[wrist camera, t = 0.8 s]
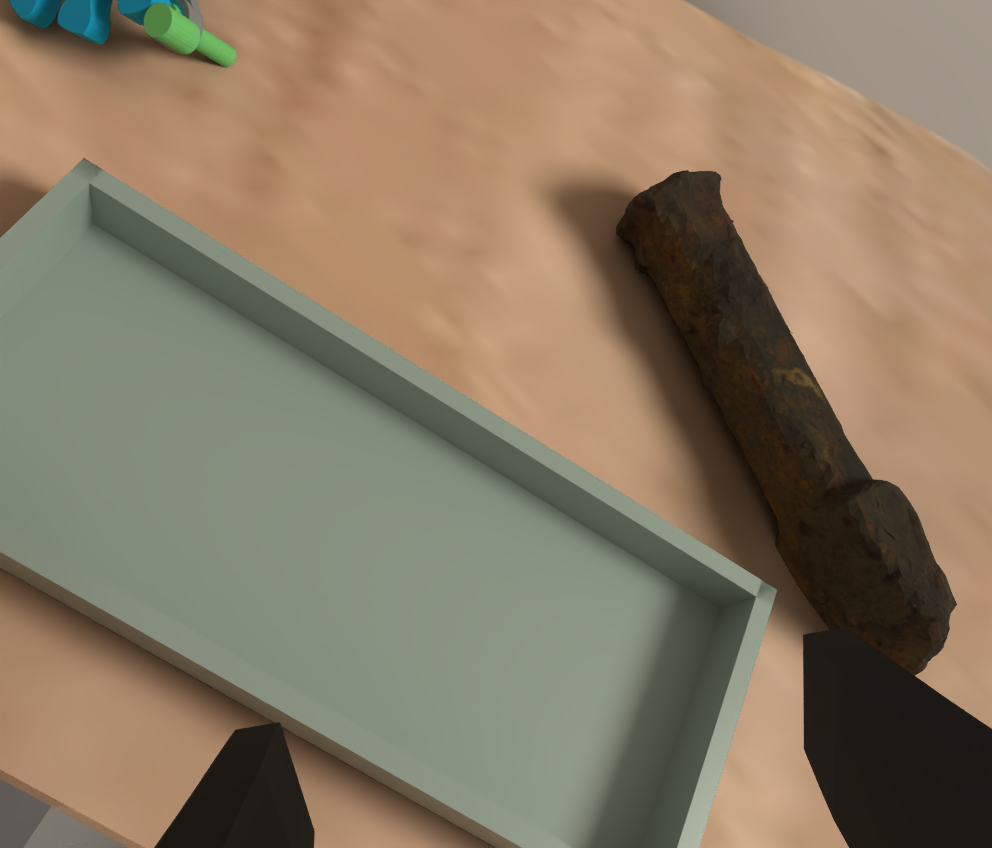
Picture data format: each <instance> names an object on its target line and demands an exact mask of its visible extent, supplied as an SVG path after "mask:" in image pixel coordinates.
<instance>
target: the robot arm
mask: <svg viewBox="0 0 992 848" xmlns="http://www.w3.org/2000/svg"><path fill="white" fill-rule="evenodd" d="M803 673H804V750H805V753H806V755H807V758H808V760H809V762H810V765H811V767H812V770H813V772H814V775H815V777H816V780H817V782H818V784H819V787H820V789H821V791H822V794H823V796H824V798H825V801H826V803H827V805H828V808H829V810H830V812H831V814H832V817H833V819H834V821H835V823H836V825H837V827H838V828H839V830H840V832H841V834H842V836H843V837H844V839H845V841H846V843H847V845H848V846H849V848H992V729H991V728H990V727H988V726H987V725H985V724H984V723H982V722H981V721H979V720H978V719H976V718H975V717H973V716H972V715H970V714H969V713H967V712H966V711H964V710H963V709H961V708H960V707H958V706H957V705H955V704H954V703H953V702H951V701H950V700H948V699H947V698H945V697H944V696H942V695H941V694H940V693H938V692H937V691H935V690H934V689H932V688H931V687H930V686H928V685H927V684H925V683H924V682H923V681H921V680H920V679H918V678H917V677H916V676H914V675H913V674H911V673H910V672H909V671H907V670H906V669H904V668H903V667H902V666H900V665H899V664H898V663H896V662H895V661H893V660H892V659H891V658H889V657H888V656H887V655H885V654H884V653H882V652H881V651H880V650H878V649H877V648H876V647H874V646H873V645H872V644H870V643H869V642H867V641H866V640H865V639H863V638H862V637H860V636H859V635H858V634H856V633H855V632H853V631H852V630H851V629H849V628H848V627H846V628H840V629H834V630H828V631H822V632H816V633H810V634H804V635H803ZM154 848H314V828H313V825H312V822H311V819H310V816H309V813H308V809H307V806H306V803H305V800H304V797H303V794H302V790H301V787H300V784H299V781H298V778H297V775H296V772H295V768H294V765H293V762H292V759H291V756H290V753H289V749H288V746H287V743H286V740H285V737H284V734H283V730H282V727H281V724H280V722H279V723H273V724H267V725H261V726H255V727H249V728H243V729H237V730H235V731H234V733H233V734H232V735H231V737H230V738H229V739H228V741H227V742H226V744H225V745H224V747H223V748H222V749H221V751H220V752H219V754H218V755H217V757H216V758H215V760H214V761H213V763H212V764H211V766H210V767H209V769H208V770H207V772H206V773H205V775H204V776H203V778H202V779H201V781H200V782H199V784H198V785H197V787H196V788H195V790H194V791H193V793H192V794H191V796H190V797H189V799H188V800H187V802H186V803H185V805H184V806H183V808H182V809H181V810H180V812H179V813H178V815H177V816H176V818H175V819H174V821H173V822H172V823H171V825H170V826H169V828H168V829H167V830H166V832H165V833H164V835H163V836H162V838H161V839H160V840H159V842H158V843H157V845H156V846H155V847H154Z"/></svg>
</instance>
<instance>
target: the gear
mask: <svg viewBox="0 0 992 848" xmlns="http://www.w3.org/2000/svg"><path fill="white" fill-rule="evenodd" d="M9 1H10V3H11V5H12V7H13V8H14V10H15V11H16V12H17V14H18V15H19V16H20V17H21V18H22V19H24V20H26V21H28V22H30V23H31V24H33V25H35V26H37V27H39V28H41V29H44V28H46V27H48V26H49V25H50V24H51V23H52V22H53V20H54V19H55V17H56V14H57V11H58V8H59V6H60V4H61V2H62V0H9ZM111 3H112V0H66V1H65V2H64V3H63V5H62V6H61V8H60V10H59V14H58V24H59V25H60V26H61V27H63V28H65V29H66V30H68V31H70V32H72V33H74V34H76V35H77V36H79V37H81V38H83V39H85V40H87V41H90V42H92V43H96V44H101V45H102V44H103V43H104V42H105V41H106V39H107V37H108V35H109V32H110V8H111ZM117 6H118V9H119V11H120V13H121V14H123V15H124V16H126V17H128V18H129V19H131V20H133V21H134V22H136V23H138V24H139V25H144V28H145V31H146V32H147V34H148V35H150V36H151V38H152V39H153V40H154V41H155V42H156V43H158V44H160V45H161V46H163V47H165V48H167V49H168V50H170V51H172V52H174V53H178V54H190V53H191V52H193V51H194V50H197V51H198V52H200V53H202V54H203V55H205V56H207V57H208V58H210V59H211V60H213V61H215V62H216V63H218V64H220V65H221V66H223V67H229V66H231V65H232V64H233V63H234V61H235V59H236V52H235V50H234V48H232V47H231V46H229V45H228V44H226V43H225V42H223V41H222V40H220V39H219V38H217V37H216V36H214V35H213V34H211V33H210V32H208V31H206V30H205V29H203V18H202V14H201V11H200V8H199V5H198V3H197V0H117Z"/></svg>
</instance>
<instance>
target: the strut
mask: <svg viewBox="0 0 992 848" xmlns="http://www.w3.org/2000/svg"><path fill="white" fill-rule="evenodd" d="M0 848H144V847H142V846H140V845H139V844H137V843H135V842H133V841H131V840H129V839H127V838H126V837H124V836H122V835H120V834H118V833H116V832H115V831H113V830H111V829H109V828H107V827H105V826H103V825H102V824H100V823H98V822H96V821H94V820H92V819H90V818H89V817H87V816H85V815H83V814H81V813H79V812H77V811H76V810H74V809H72V808H70V807H68V806H66V805H65V804H63V803H61V802H59V801H57V800H55V799H53V798H52V797H50V796H48V795H46V794H44V793H42V792H40V791H39V790H37V789H35V788H33V787H31V786H29V785H27V784H26V783H24V782H22V781H20V780H18V779H16V778H14V777H13V776H11V775H9V774H7V773H5V772H3V771H2V770H0Z"/></svg>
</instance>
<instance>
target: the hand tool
mask: <svg viewBox="0 0 992 848" xmlns="http://www.w3.org/2000/svg"><path fill="white" fill-rule="evenodd" d="M720 180H721V177H720V175H719V174H718V173H716V172H713V171H698V172H689V171H688V170H687V171H680V172H676V173H673V174H672V175H670V176H669V177H668V178H667V179H665V180H664V181H662V182H660V183H658V184H656V185H654V186H651V187H650V188H649V189H648V190H646V191H643V192H641V193H639V194H638V195H637V196H636V197H635V198H634V199H633V200H632V201H631V202H630V203H629V205H628V207H627V208H626V211H625V214H624V216H623V217H622V219H621V220H620V222H619V223H618V225H617V228H616V235H617V236H619V237H621V238H623V239H625V240H627V241H628V242H629V243H631V244H632V245H633V246H634V247H635V248H636V254H635V269H636V270H639V271H642V272H645V273H648V274H649V275H650V277H651V278H652V279H653V281H654V283H655V285H656V287H657V288H658V290H659V292H660V294H661V296H662V298H663V300H664V302H665V304H666V306H667V309H668V311H669V313H670V314H671V316H672V318H673V319H674V321H675V322H676V324H677V325H678V327H679V329H680V331H681V333H682V335H683V337H684V338H685V340H686V342H687V344H688V346H689V348H690V350H691V352H692V354H693V356H694V358H695V360H696V362H697V364H698V366H699V368H700V370H701V372H702V381H703V386H704V387H705V388H706V389H707V390H709V391H710V392H711V393H712V394H713V395H714V397H715V399H716V401H717V403H718V406H719V409H720V410H721V412H722V414H723V417H724V419H725V422H726V424H727V426H728V427H729V428H730V430H731V431H732V433H733V434H734V436H735V438H736V440H737V442H738V444H739V446H740V448H741V450H742V452H743V454H744V456H745V458H746V460H747V462H748V464H749V466H750V468H751V470H752V472H753V474H754V476H755V478H756V480H757V481H758V483H759V485H760V487H761V489H762V491H763V493H764V495H765V497H766V499H767V501H768V502H769V504H770V506H771V508H772V510H773V512H774V514H775V515H776V517H777V527H778V531H779V532H778V534H777V535H776V547H777V549H778V551H779V553H780V555H781V557H782V559H783V560H784V562H785V564H786V566H787V567H788V569H789V571H790V573H791V574H792V576H793V577H794V579H795V581H796V582H797V584H798V585H799V587H800V588H801V590H802V592H803V593H804V595H805V596H806V597H807V599H808V600H809V601H810V603H811V604H812V605H813V607H814V608H815V609H816V611H817V612H818V614H819V615H820V616H821V618H822V619H823V620H824V622H825V623H826V624H827V626H828V627H829V628H830V630H834V629H840V628H846V627H848V628H849V629H851V630H852V631H853V632H855V633H856V634H858V635H859V636H860V637H862V638H863V639H865V640H866V641H867V642H869V643H870V644H872V645H873V646H874V647H876V648H877V649H878V650H880V651H881V652H882V653H884V654H885V655H887V656H888V657H889V658H891V659H892V660H893V661H895V662H896V663H898V664H899V665H900V666H902V667H903V668H904V669H906V670H907V671H909V672H910V673H911V674H913V675H916V674H918V673H920V672H921V671H923V670H924V669H925V668H926V666H927V663H928V661H930V660H931V659H932V657H934V656H935V655H937V654H938V653H939V652H940V651H941V650H942V648H943V647H944V643H945V641H946V639H947V635H948V632H949V629H950V628H949V619H950V614H951V612H952V611H953V609H954V608H955V606H956V605H957V603H956V601H955V599H954V597H953V595H952V592H951V589H950V587H949V584H948V581H947V578H946V576H945V574H944V573H943V571H942V570H941V568H940V567H939V565H938V564H937V563H936V561H935V559H934V556H933V554H932V552H931V549H930V545H929V542H928V541H927V539H926V536H925V533H924V530H923V527H922V525H921V522H920V519H919V517H918V515H917V513H916V511H915V510H914V508H913V507H912V505H911V503H910V502H909V500H908V499H907V497H906V496H905V495H904V493H903V492H902V491H901V490H900V488H899V487H897V486H895V485H894V484H892V483H890V482H888V481H883V480H873V479H872V477H871V476H870V474H869V472H868V471H867V469H866V467H865V466H864V464H863V463H862V461H861V460H860V459H859V457H858V456H857V454H856V452H855V451H854V449H853V447H852V446H851V444H850V443H849V441H848V439H847V438H846V436H845V434H844V432H843V429H842V426H841V424H840V422H839V421H838V419H837V417H836V415H835V413H834V412H833V410H832V408H831V406H830V404H829V402H828V400H827V398H826V397H825V395H824V393H823V391H822V389H821V387H820V386H819V384H818V382H817V380H816V378H815V377H814V375H813V373H812V371H811V369H810V368H809V366H808V364H807V362H806V360H805V358H804V355H803V354H802V352H801V351H800V349H799V347H798V346H797V344H796V342H795V340H794V338H793V336H792V335H791V333H792V332H791V333H790V330H789V328H788V326H787V325H786V323H785V321H784V319H783V317H782V316H781V313H780V312H779V310H778V308H777V306H776V304H775V302H774V300H773V298H772V295H771V294H770V292H769V290H768V287H767V286H766V284H765V283H764V281H763V280H762V278H761V276H760V275H759V273H758V271H757V269H756V266H755V265H754V263H753V261H752V259H751V258H750V256H749V254H748V252H747V251H746V249H745V247H744V244H743V242H742V239H741V238H740V236H739V235H738V234H737V231H736V229H735V227H734V225H733V223H732V222H733V221H732V220H731V219H730V217H729V215H728V214H727V212H726V211H725V209H724V208H723V205H722V200H721V196H720Z"/></svg>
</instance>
